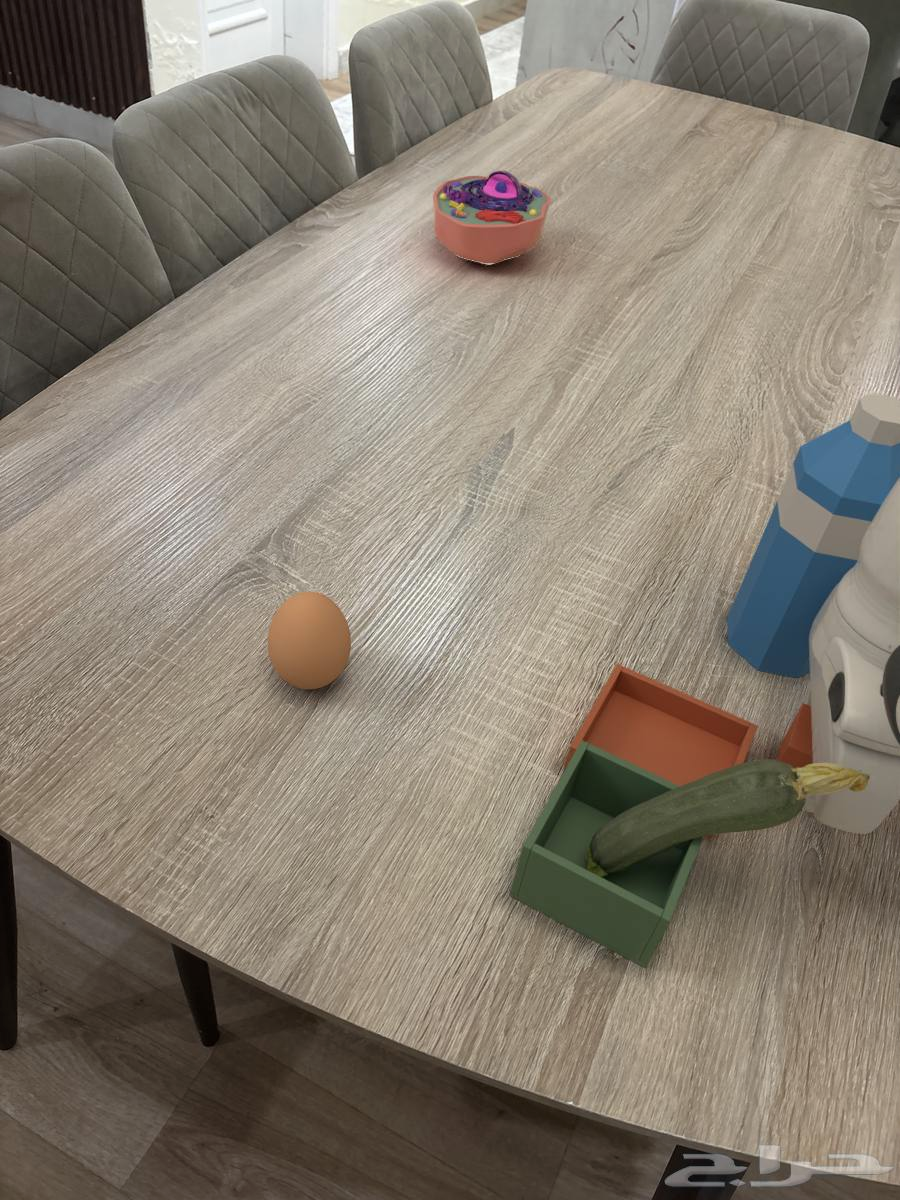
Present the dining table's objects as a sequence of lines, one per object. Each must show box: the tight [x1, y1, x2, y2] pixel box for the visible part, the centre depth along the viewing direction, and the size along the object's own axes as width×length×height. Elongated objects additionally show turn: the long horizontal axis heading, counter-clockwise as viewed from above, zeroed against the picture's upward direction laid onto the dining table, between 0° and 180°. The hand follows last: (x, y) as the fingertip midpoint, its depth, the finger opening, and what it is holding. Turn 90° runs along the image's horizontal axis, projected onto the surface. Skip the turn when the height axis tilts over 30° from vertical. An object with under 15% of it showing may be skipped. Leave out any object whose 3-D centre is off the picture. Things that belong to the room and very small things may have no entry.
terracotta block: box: [774, 702, 813, 769], centre depth 74 cm, size 5×5×5 cm
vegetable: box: [586, 758, 870, 877], centre depth 62 cm, size 4×4×20 cm
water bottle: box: [726, 393, 900, 679], centre depth 78 cm, size 9×9×25 cm
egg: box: [267, 590, 352, 690], centre depth 75 cm, size 7×7×9 cm
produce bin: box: [508, 740, 705, 969], centre depth 65 cm, size 10×10×6 cm
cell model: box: [432, 170, 552, 267], centre depth 137 cm, size 17×20×11 cm
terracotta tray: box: [563, 663, 758, 841], centre depth 75 cm, size 12×10×3 cm
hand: (810, 762), depth 74 cm, fingers open, 7 cm apart
